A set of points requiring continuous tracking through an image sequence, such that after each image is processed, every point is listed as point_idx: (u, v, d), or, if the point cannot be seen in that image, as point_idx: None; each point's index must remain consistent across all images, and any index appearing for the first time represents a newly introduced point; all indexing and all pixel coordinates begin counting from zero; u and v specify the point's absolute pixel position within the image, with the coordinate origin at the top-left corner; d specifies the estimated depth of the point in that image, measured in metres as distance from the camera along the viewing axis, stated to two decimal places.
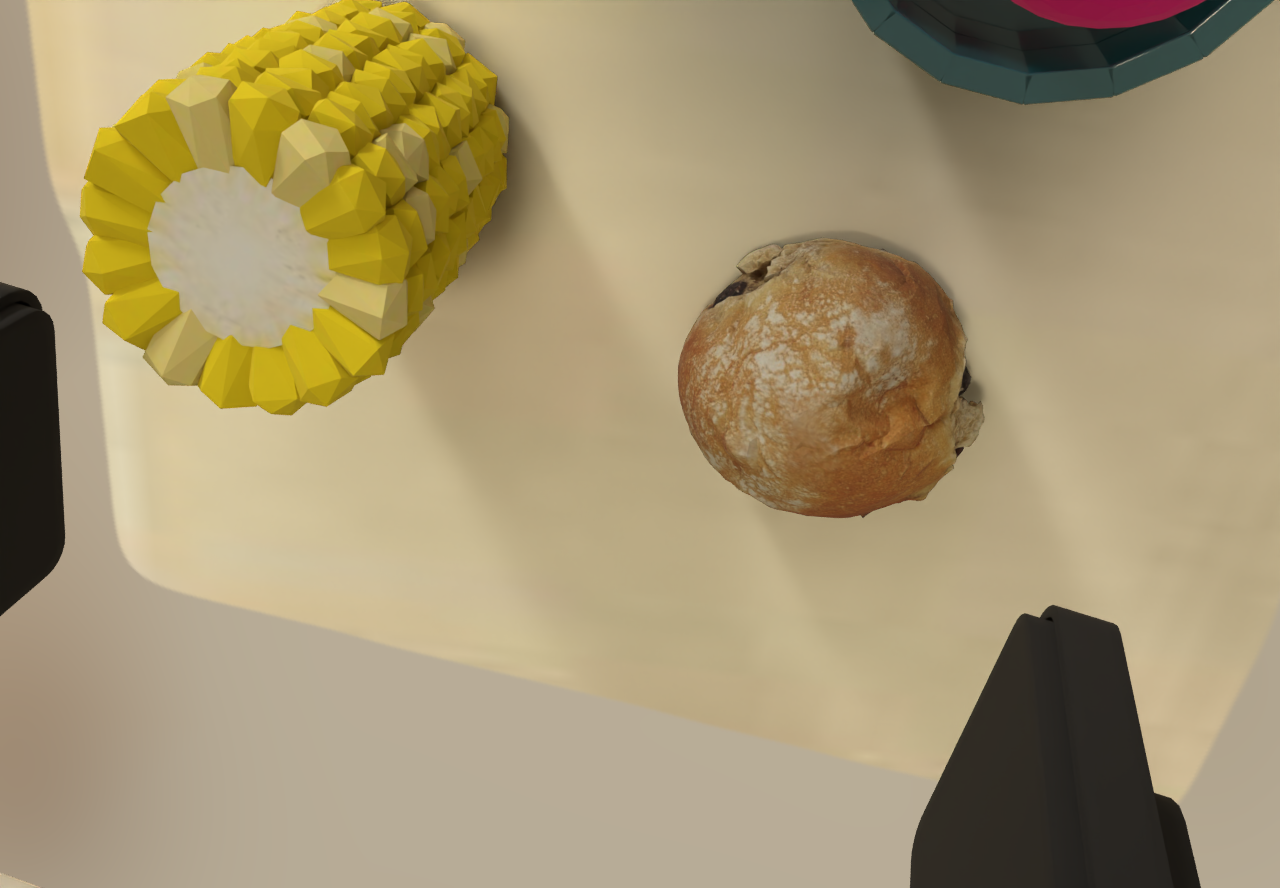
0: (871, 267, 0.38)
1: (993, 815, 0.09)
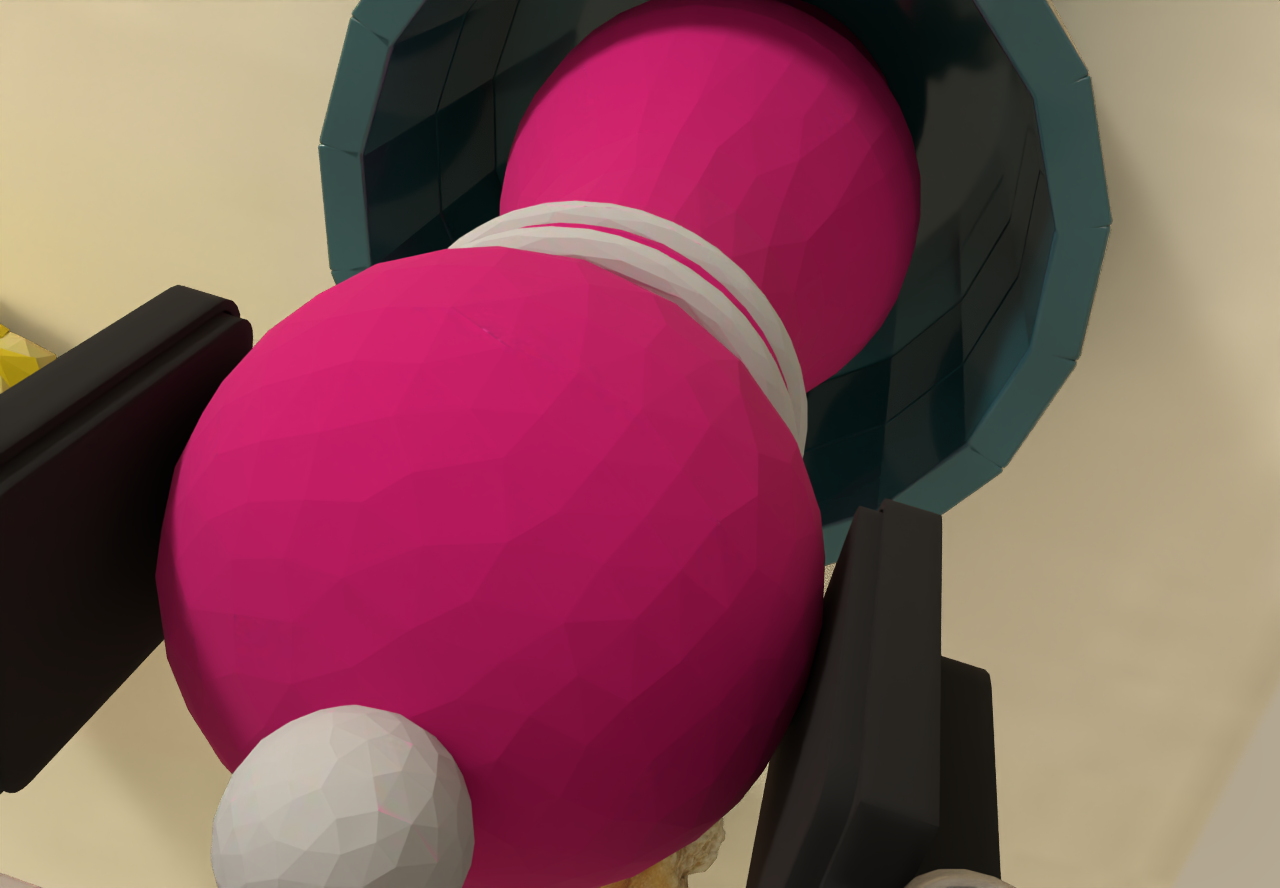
0: None
1: (816, 679, 0.10)
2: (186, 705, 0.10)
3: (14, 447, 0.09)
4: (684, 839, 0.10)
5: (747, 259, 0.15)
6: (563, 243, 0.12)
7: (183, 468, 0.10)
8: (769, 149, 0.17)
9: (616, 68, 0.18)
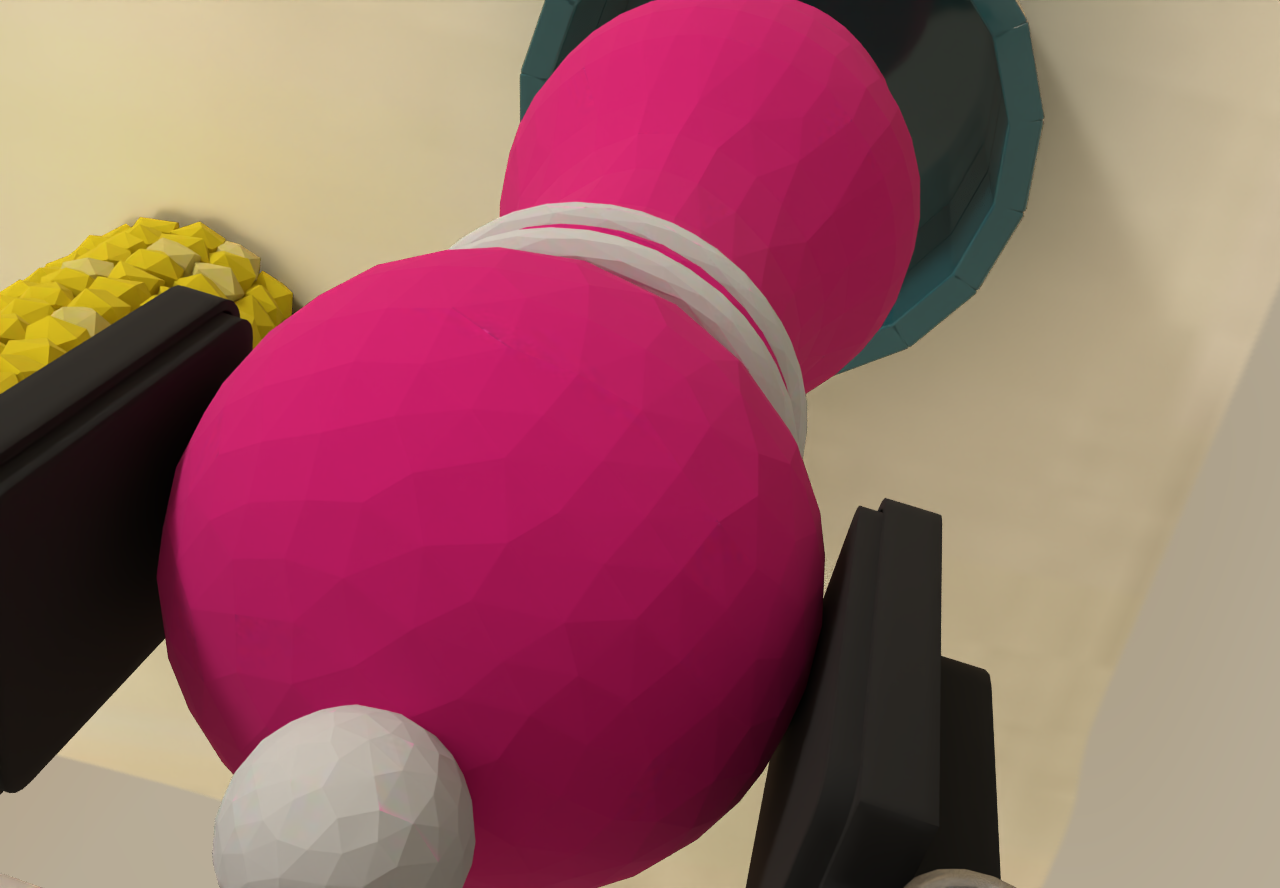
0: None
1: (816, 679, 0.10)
2: (187, 705, 0.10)
3: (14, 447, 0.09)
4: (684, 839, 0.10)
5: (747, 261, 0.15)
6: (563, 244, 0.12)
7: (184, 469, 0.10)
8: (769, 150, 0.17)
9: (616, 70, 0.18)
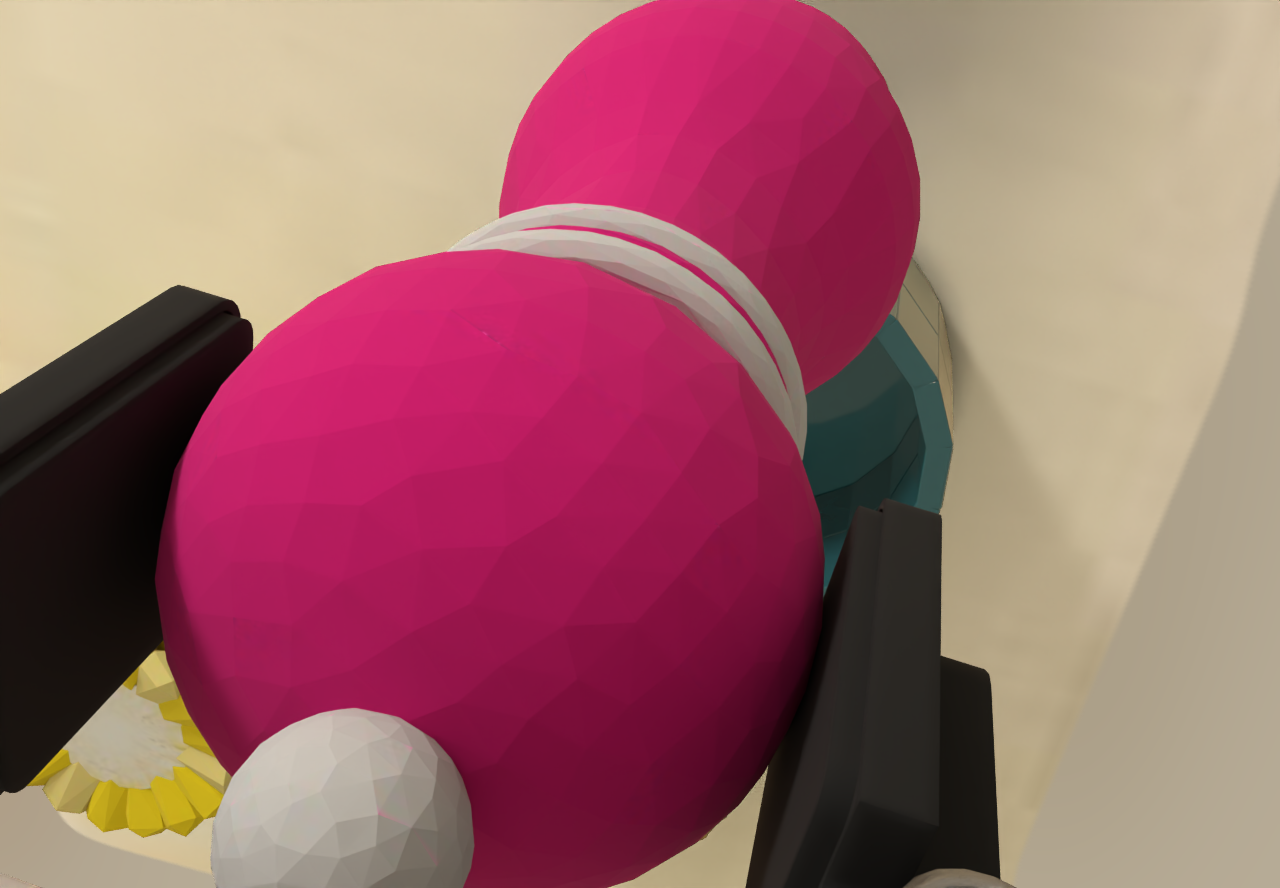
0: None
1: (816, 679, 0.10)
2: None
3: (14, 447, 0.09)
4: (683, 842, 0.10)
5: (746, 262, 0.15)
6: (562, 246, 0.12)
7: (182, 471, 0.10)
8: (769, 151, 0.17)
9: (616, 70, 0.18)
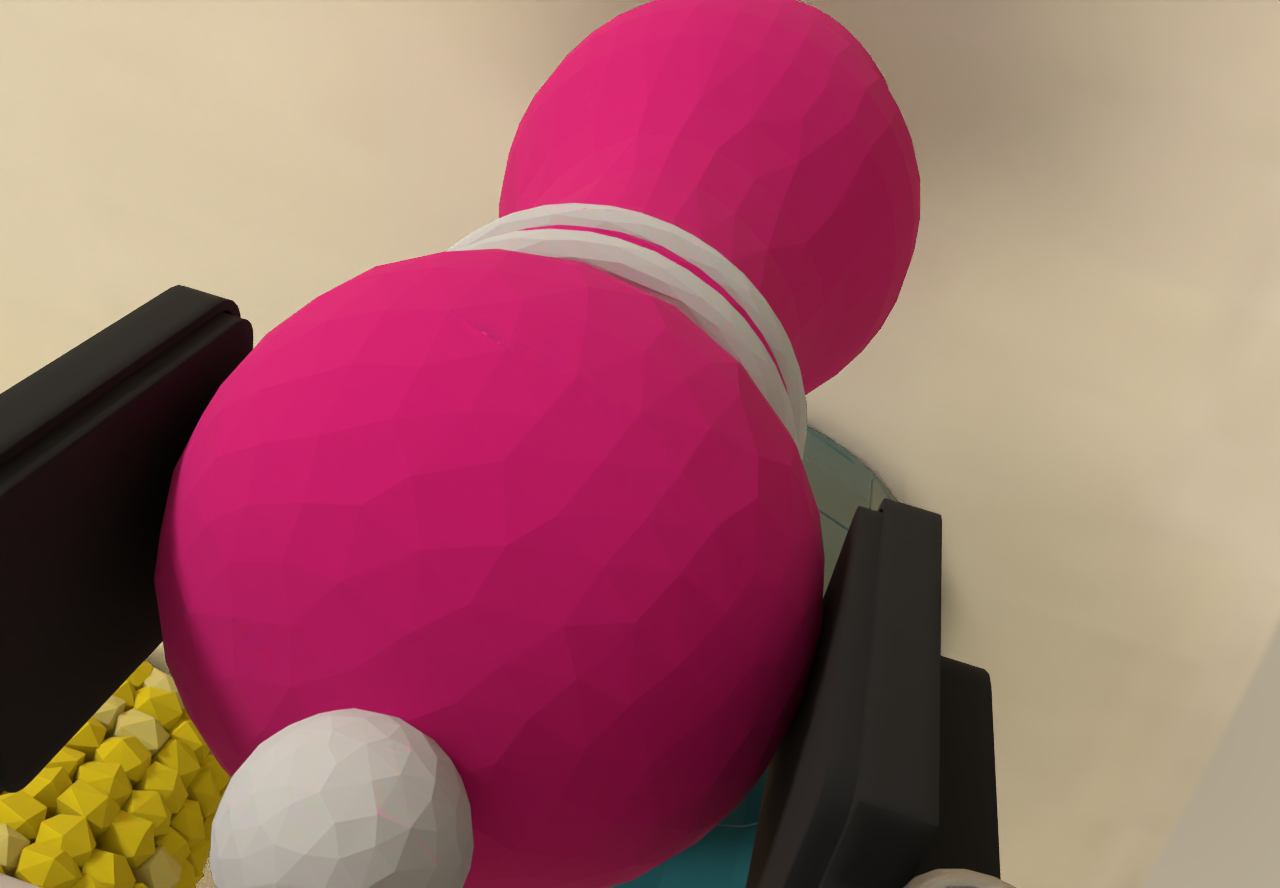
0: None
1: (816, 679, 0.10)
2: (185, 708, 0.10)
3: (14, 447, 0.09)
4: (684, 843, 0.10)
5: (746, 262, 0.15)
6: (562, 246, 0.12)
7: (182, 471, 0.10)
8: (769, 151, 0.17)
9: (615, 70, 0.18)
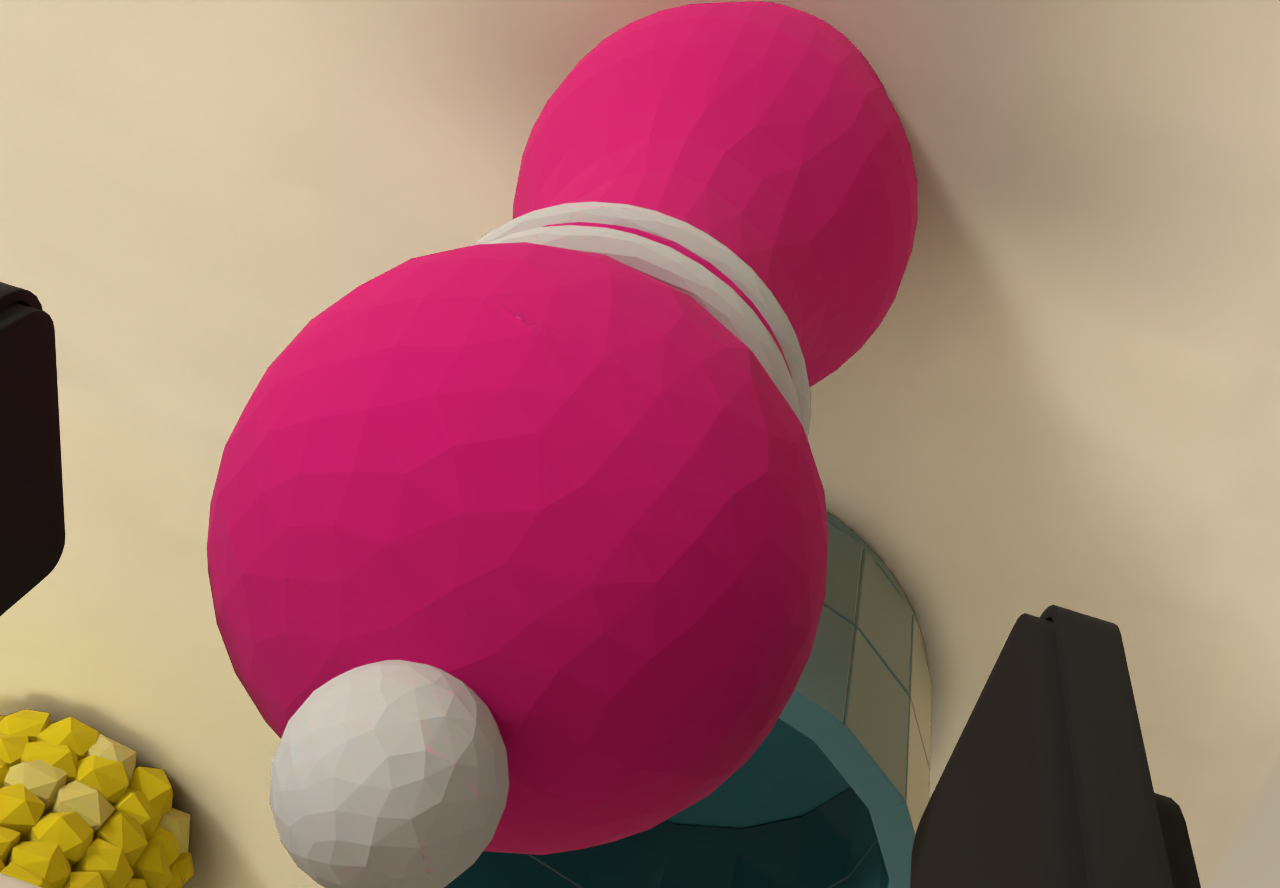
0: None
1: (993, 815, 0.09)
2: None
3: None
4: (697, 792, 0.11)
5: (753, 259, 0.16)
6: (583, 241, 0.13)
7: (235, 446, 0.10)
8: (774, 154, 0.17)
9: (627, 77, 0.18)
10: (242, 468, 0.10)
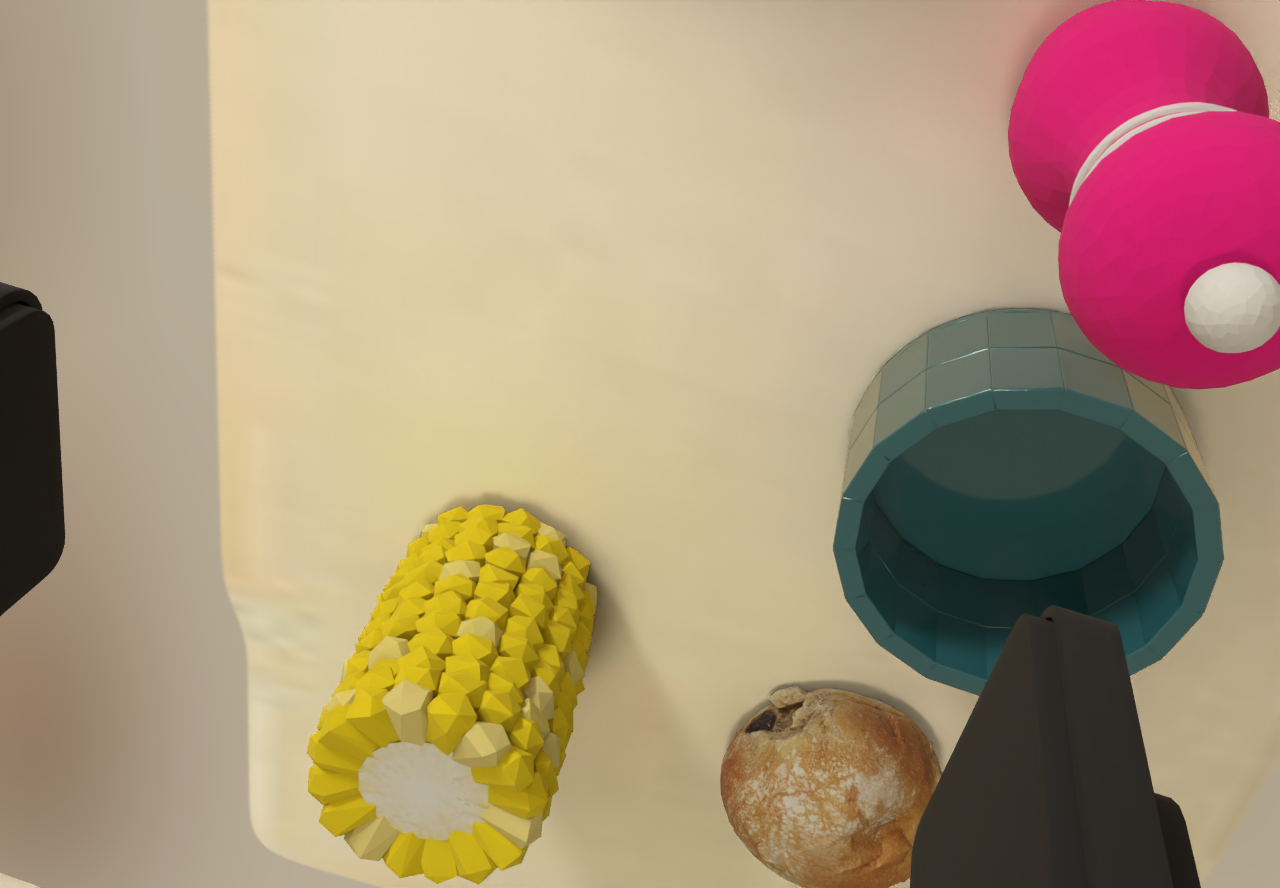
0: (871, 733, 0.51)
1: (993, 815, 0.09)
2: (1094, 295, 0.25)
3: None
4: None
5: None
6: None
7: (1122, 191, 0.25)
8: (1223, 87, 0.32)
9: (1126, 43, 0.33)
10: (1137, 198, 0.24)
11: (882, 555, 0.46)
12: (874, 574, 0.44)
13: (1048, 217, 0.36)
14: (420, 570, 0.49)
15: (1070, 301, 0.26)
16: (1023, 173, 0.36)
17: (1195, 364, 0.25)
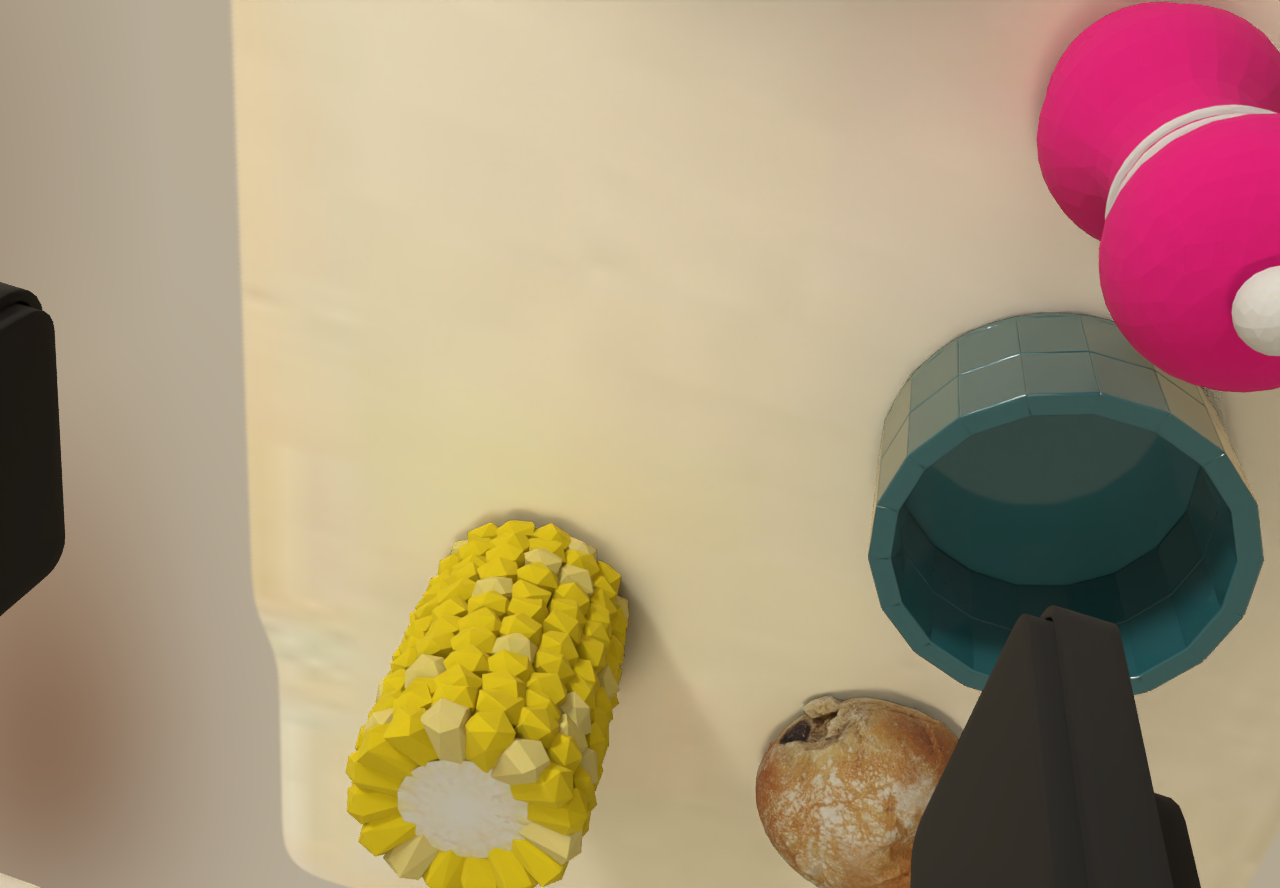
0: (907, 741, 0.51)
1: (993, 814, 0.09)
2: (1139, 301, 0.25)
3: None
4: None
5: None
6: None
7: (1165, 196, 0.24)
8: (1256, 88, 0.31)
9: (1157, 46, 0.33)
10: (1180, 202, 0.24)
11: (916, 563, 0.46)
12: (909, 582, 0.44)
13: (1080, 222, 0.36)
14: (453, 587, 0.49)
15: (1113, 307, 0.26)
16: (1054, 178, 0.36)
17: (1241, 367, 0.25)
